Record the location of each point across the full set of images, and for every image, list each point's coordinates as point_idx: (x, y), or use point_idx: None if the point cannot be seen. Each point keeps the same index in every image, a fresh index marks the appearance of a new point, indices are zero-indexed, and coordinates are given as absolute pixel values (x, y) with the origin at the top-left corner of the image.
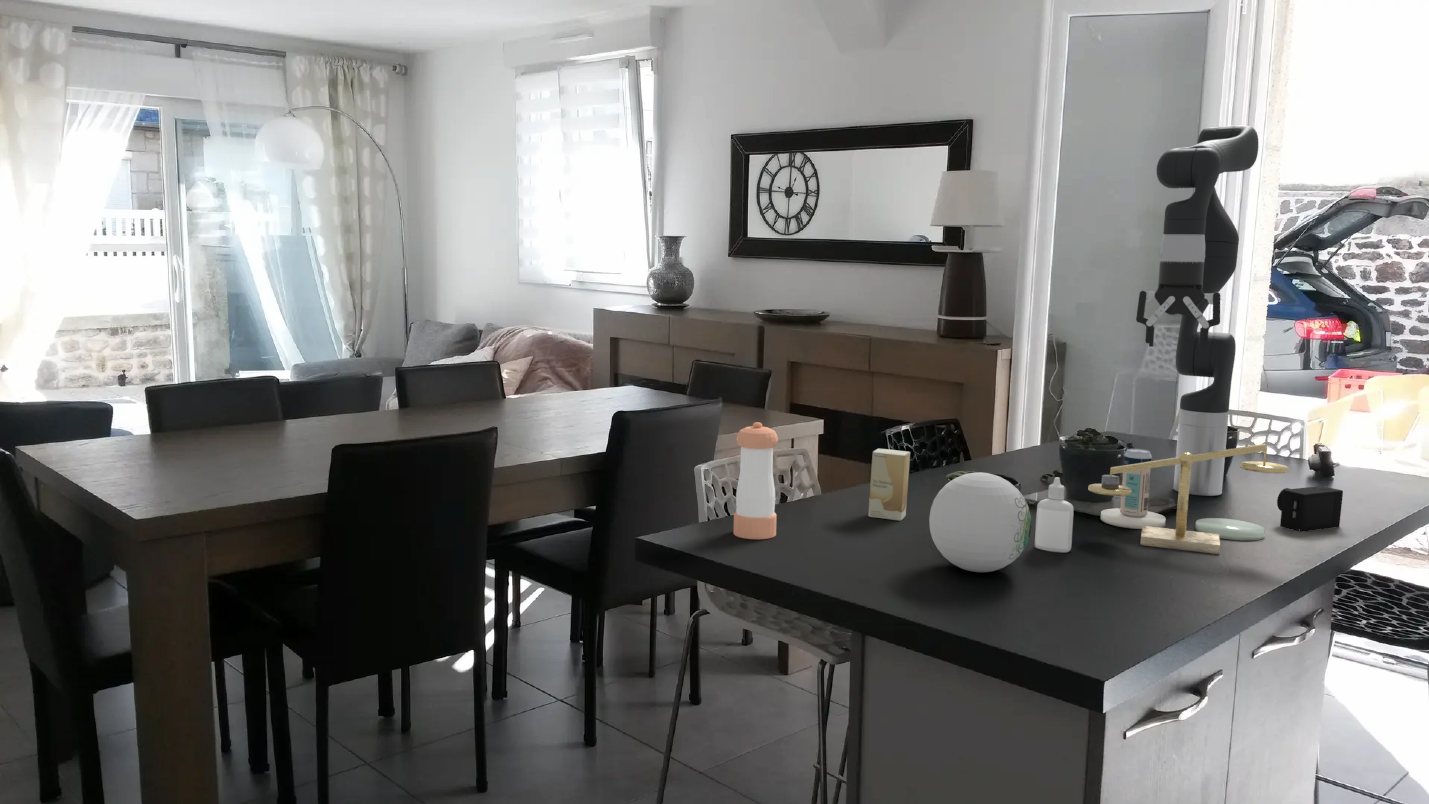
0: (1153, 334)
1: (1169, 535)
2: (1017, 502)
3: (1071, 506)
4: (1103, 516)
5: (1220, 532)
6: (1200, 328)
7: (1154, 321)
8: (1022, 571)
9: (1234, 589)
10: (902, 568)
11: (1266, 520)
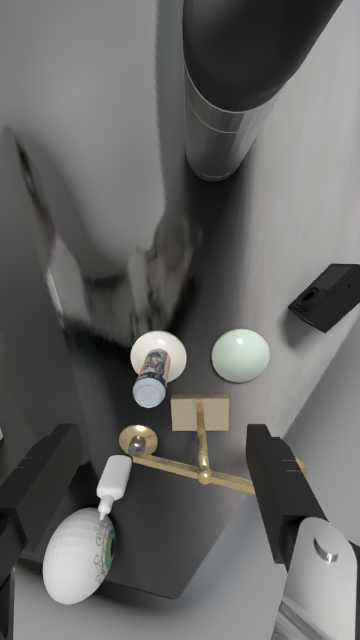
0: (56, 508)
1: (192, 419)
2: (99, 584)
3: (122, 496)
4: (135, 370)
5: (231, 380)
6: (276, 552)
7: (7, 605)
8: (117, 506)
9: (231, 492)
10: (59, 524)
11: (279, 285)
